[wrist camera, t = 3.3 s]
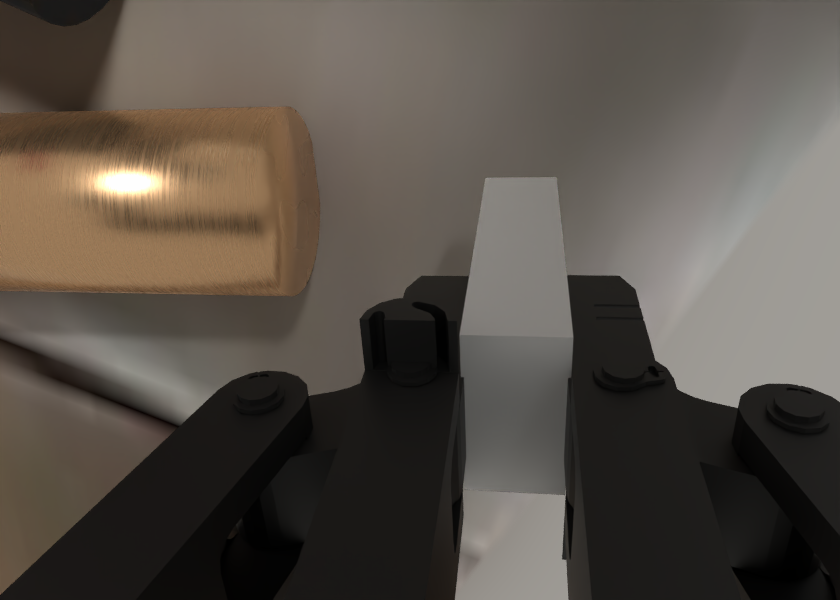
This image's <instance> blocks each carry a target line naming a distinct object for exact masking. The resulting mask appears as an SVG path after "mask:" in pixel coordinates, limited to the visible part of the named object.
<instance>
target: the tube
mask: <svg viewBox="0 0 840 600" xmlns="http://www.w3.org/2000/svg"><path fill="white" fill-rule="evenodd" d="M319 227H320V201H319V193H318V185H317V178H316V170H315V162H314V154H313V147H312V141H311V138H310V135H309V132H308V129H307V127H306V125H305V123H304V121H303V119H302V117H301V116H300V115H299V113H298V112H297V111H296V110H295V109H293V108H291V107H248V108H203V109H157V110H112V111H67V112H21V113H0V291H37V292H92V293H147V294H201V295H256V296H295V295H298V294H299V293H300V292H301V291H302V290H303V289H304V287H305V286H306V284H307V282H308V280H309V278H310V275H311V272H312V269H313V266H314V262H315V257H316V253H317V246H318V238H319Z"/></svg>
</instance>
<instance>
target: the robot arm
mask: <svg viewBox="0 0 840 600" xmlns="http://www.w3.org/2000/svg"><path fill="white" fill-rule="evenodd" d="M360 328H361V337H362V347H363V356H364V365H365V372H364V375H363V378H362V380H361V383H360V384H357V385H355V386H352V387H350V388H347V389H343V390H339V391H335V392H329V393H323V394H317V395H312V396H308V390H307V385H306V384H305V383H304V382H303V381H302V380H301V379H300V378H299V377H298V376H295V375H292V374H289V373H286V372H277V371H262V372H255V373H251V374H248V375H245V376H242V377H240V378H237V379H235V380H232V381H231V382H229V383H228V384H226V385H225V386H223V387H222V388H220V389H219V390H218V391H217V392H216V393H215V394H213V395H212V396H211V397H210V398H209V399H208V400H207V401H206V402H205V403H204V404H203V405H202V406H201V407H200V408H199V409H198V410H196V411H195V412H194V413H193V414H192V415H191V416H190V417H189V418H188V419H187V420H186V421H185V422H184V423H183V424H182V425H180V426H179V427H178V428H177V429H176V430H175V431H174V432H173V433H172V434H171V435H170V436H169V437H168V438H167V439H166V440H165V441H163V442H162V443H161V444H160V445H159V446H158V447H157V448H156V449H155V450H154V451H153V452H152V453H151V454H150V455H149V456H148V457H146V458H145V459H144V460H143V461H142V462H141V463H140V464H139V465H138V466H137V467H136V468H135V469H134V470H133V471H132V472H131V473H129V474H128V475H127V476H126V477H125V478H124V479H123V480H122V481H121V482H120V483H119V484H118V485H117V486H116V487H115V488H114V489H112V490H111V491H110V492H109V493H108V494H107V495H106V496H105V497H104V498H103V499H102V500H101V501H100V502H99V503H98V504H97V505H95V506H94V507H93V508H92V509H91V510H90V511H89V512H88V513H87V514H86V515H85V516H84V517H83V518H82V519H81V520H79V521H78V522H77V523H76V524H75V525H74V526H73V527H72V528H71V529H70V530H69V531H68V532H67V533H66V534H65V535H64V536H62V537H61V538H60V539H59V540H58V541H57V542H56V543H55V544H54V545H53V546H52V547H51V548H50V549H49V550H48V551H47V552H45V553H44V554H43V555H42V556H41V557H40V558H39V559H38V560H37V561H36V562H35V563H34V564H33V565H32V566H31V567H30V568H28V569H27V570H26V571H25V572H24V573H23V574H22V575H21V576H20V577H19V578H18V579H17V580H16V581H15V582H14V583H13V584H11V585H10V586H9V587H8V588H7V589H6V590H5V591H4V592H3V593H2V594H1V595H0V600H455V591H456V582H457V572H458V563H459V553H460V544H461V534H462V525H463V482H464V490H481V491H500V492H519V493H538V494H557V495H565V486H566V500H565V518H564V537H563V555H562V559H564V560H567V578H568V596H569V600H840V402H839V401H837V400H836V399H834V398H833V397H831V396H828V395H826V394H823V393H821V392H819V391H816V390H814V389H811V388H808V387H804V386H798V385H792V384H765V385H761V386H757V387H753V388H751V389H749V390H748V391H747V392H746V393H744V394H743V395H742V396H741V397H740V402H739V406H738V408H735V407H730V406H725V405H721V404H717V403H712V402H708V401H705V400H701V399H698V398H695V397H692V396H690V395H687V394H685V393H683V392H681V391H679V390H678V389H677V387H676V384H675V381H674V378H673V377H672V375H671V374H670V372H669V371H668V369H667V368H666V367H664V366H663V365H661V364H660V363H658V362H657V361H655V358H654V354H653V351H652V347H651V344H650V340H649V337H648V333H647V329H646V326H645V322H644V321H643V315H642V312H641V308H640V305H639V301H638V297H637V294H636V290H635V289H634V288H633V287H632V286H631V285H629V284H628V283H627V282H626V281H625V280H624V279H622V278H621V277H620V276H582V275H567V271H566V261H565V252H564V242H563V232H562V223H561V213H560V204H559V194H558V184H557V177H505V178H485V183H484V189H483V196H482V202H481V208H480V214H479V220H478V226H477V232H476V238H475V244H474V250H473V256H472V262H471V268H470V274H469V276H421V277H420V278H418V279H417V280H416V281H415V282H413V283H412V284H411V285H410V286H409V287H407V288H406V290H405V293H404V296H403V298H399V299H393V300H390V301H386V302H382V303H379V304H377V305H376V306H374V307H372V308H370V309H368V310H367V311H366V312H365V313H364V315H363V316H362V317H361V318H360Z"/></svg>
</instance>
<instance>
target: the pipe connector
mask: <svg viewBox="0 0 840 600" xmlns="http://www.w3.org/2000/svg"><path fill="white" fill-rule="evenodd" d="M0 1H2V2H5V3H7V4H9V5H11V6H14V7H16V8H18V9H20V10H22V11H25V12H27V13H29V14H31V15H34V16H36V17H38V18H40V19H43V20H45V21H47V22H49V23H51V24H55V25H60V26H71V25H77V24H79V23H82V22H84V21H86V20H88V19H90V18H91V17H92V16H94V15H95V14H96V13H97V12H99V11H100V10H101V9H102V8H103V7H104V6H105V5H106V4H107V3H108V1H109V0H0Z"/></svg>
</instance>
